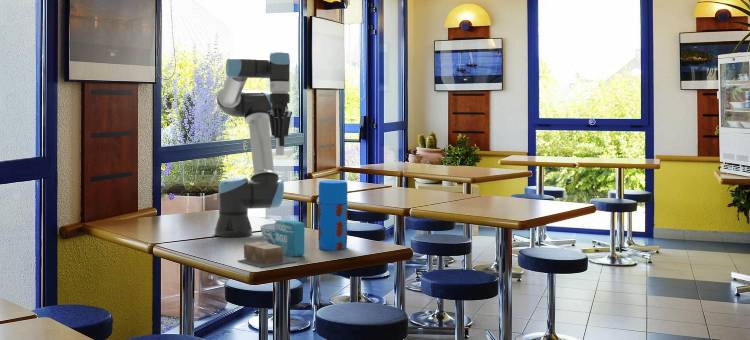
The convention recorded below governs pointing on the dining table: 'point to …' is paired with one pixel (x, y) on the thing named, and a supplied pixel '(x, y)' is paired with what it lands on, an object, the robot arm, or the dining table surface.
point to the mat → (261, 265)
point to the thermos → (332, 215)
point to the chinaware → (269, 232)
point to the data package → (290, 237)
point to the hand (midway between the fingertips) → (279, 154)
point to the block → (263, 252)
